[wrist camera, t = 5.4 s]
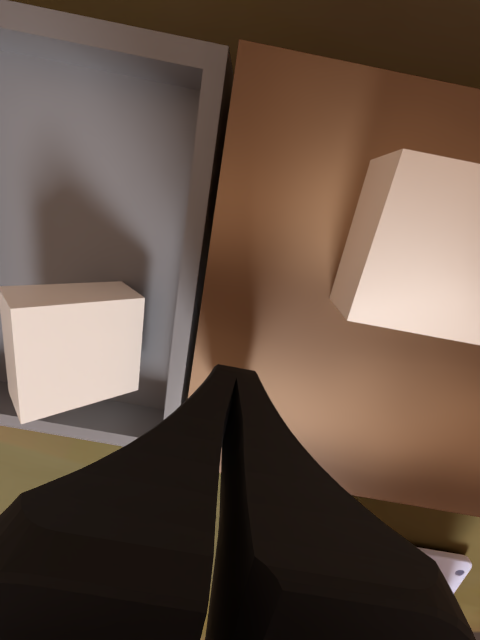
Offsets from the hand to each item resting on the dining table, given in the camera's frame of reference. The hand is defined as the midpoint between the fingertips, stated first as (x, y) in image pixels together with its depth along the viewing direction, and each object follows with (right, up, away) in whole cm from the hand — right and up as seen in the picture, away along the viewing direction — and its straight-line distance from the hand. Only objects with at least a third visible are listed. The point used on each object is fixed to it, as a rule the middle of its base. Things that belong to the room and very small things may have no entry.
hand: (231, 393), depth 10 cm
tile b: (+5, +5, -1) cm, 7 cm away
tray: (-6, +5, +3) cm, 8 cm away
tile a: (-5, +1, +1) cm, 5 cm away
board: (+6, +3, +3) cm, 7 cm away
